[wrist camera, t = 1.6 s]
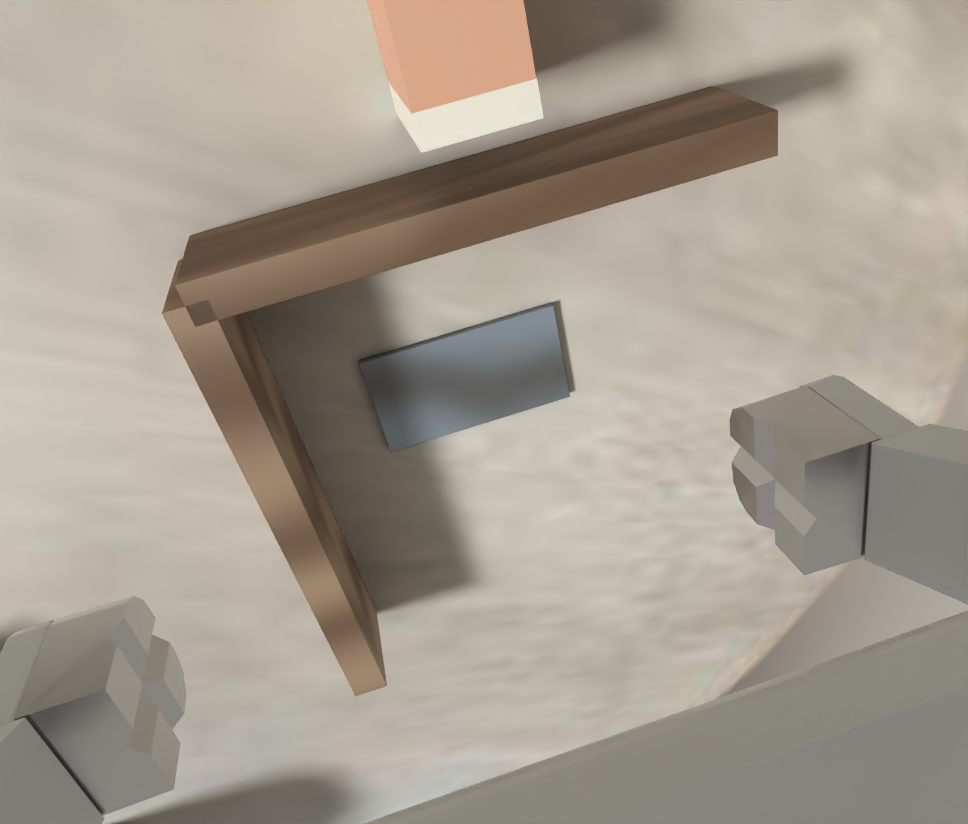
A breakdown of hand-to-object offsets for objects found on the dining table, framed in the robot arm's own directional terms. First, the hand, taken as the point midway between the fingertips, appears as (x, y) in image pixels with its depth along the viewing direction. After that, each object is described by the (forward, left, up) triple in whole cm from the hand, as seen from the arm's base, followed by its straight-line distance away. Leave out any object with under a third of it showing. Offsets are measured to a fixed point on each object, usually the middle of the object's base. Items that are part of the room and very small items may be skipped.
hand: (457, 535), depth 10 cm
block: (-4, +4, -23) cm, 24 cm away
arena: (+13, +4, -23) cm, 26 cm away
